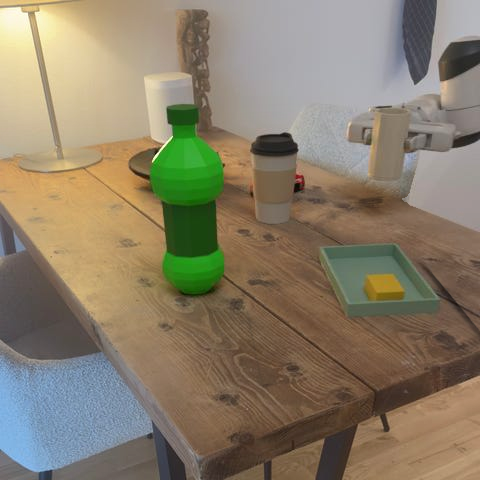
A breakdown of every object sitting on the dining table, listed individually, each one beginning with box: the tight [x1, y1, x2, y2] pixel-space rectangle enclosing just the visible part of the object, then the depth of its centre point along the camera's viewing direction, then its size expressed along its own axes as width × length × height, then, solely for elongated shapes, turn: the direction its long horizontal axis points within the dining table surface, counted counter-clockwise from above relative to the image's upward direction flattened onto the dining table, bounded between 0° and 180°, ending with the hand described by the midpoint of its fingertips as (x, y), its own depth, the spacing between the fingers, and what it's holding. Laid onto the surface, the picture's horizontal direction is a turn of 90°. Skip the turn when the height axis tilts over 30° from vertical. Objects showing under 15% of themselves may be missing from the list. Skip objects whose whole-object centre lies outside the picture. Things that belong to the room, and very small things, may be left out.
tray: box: [318, 242, 441, 318], centre depth 87 cm, size 21×13×3 cm, turn 4°
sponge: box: [364, 274, 405, 301], centre depth 82 cm, size 6×4×2 cm, turn 4°
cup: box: [367, 108, 412, 182], centre depth 104 cm, size 6×6×11 cm
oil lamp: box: [127, 145, 226, 182], centre depth 130 cm, size 22×30×8 cm
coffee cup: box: [249, 131, 299, 225], centre depth 108 cm, size 9×9×15 cm
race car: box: [249, 172, 306, 195], centre depth 125 cm, size 13×5×4 cm, turn 118°
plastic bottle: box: [149, 103, 226, 295], centre depth 81 cm, size 10×10×25 cm
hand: (387, 142), depth 103 cm, fingers closed on cup, 6 cm apart
